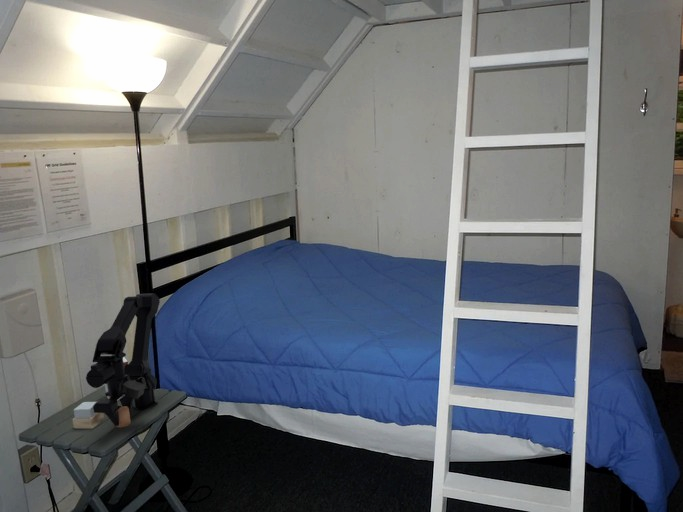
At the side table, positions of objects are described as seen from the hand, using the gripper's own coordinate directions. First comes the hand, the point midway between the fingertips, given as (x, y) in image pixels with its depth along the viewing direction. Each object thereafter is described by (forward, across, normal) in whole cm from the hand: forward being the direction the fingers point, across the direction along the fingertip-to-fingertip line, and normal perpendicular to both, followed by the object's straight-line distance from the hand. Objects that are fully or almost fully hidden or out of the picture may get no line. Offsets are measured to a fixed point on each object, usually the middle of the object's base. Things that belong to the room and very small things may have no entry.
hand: (122, 420), depth 175 cm
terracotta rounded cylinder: (+1, 0, 0) cm, 1 cm away
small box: (+1, +21, +14) cm, 26 cm away
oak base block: (+1, 0, +12) cm, 12 cm away
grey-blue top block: (-2, 0, +12) cm, 12 cm away
